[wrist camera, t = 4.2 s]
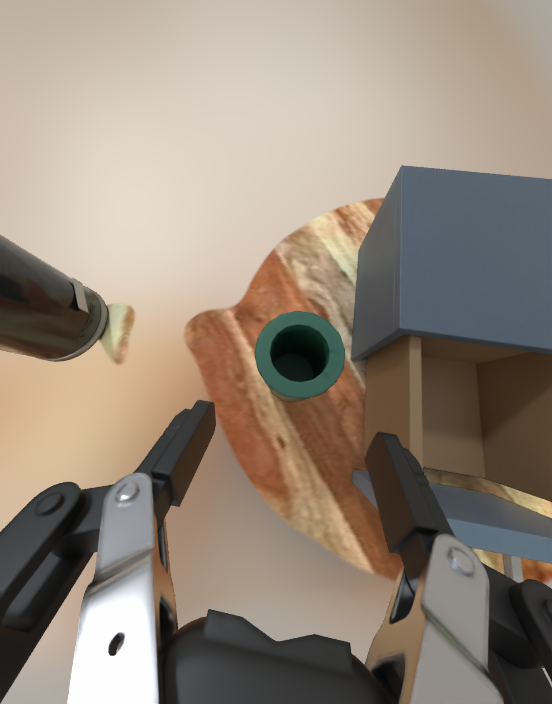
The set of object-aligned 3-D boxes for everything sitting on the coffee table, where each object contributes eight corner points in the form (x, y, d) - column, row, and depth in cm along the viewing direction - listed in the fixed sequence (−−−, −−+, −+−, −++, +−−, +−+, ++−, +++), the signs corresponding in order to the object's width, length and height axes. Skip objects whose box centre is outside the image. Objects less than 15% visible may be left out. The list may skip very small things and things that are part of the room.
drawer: (499, 567, 17) (675, 697, 9) (348, 536, 18) (398, 633, 10) (480, 360, 21) (589, 336, 14) (360, 343, 22) (401, 310, 15)
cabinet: (479, 379, 22) (628, 360, 12) (350, 360, 23) (399, 328, 13) (469, 263, 25) (578, 181, 16) (358, 250, 26) (401, 164, 17)
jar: (262, 396, 22) (247, 389, 12) (270, 347, 23) (263, 305, 13) (313, 405, 21) (341, 404, 12) (319, 355, 23) (348, 317, 13)
